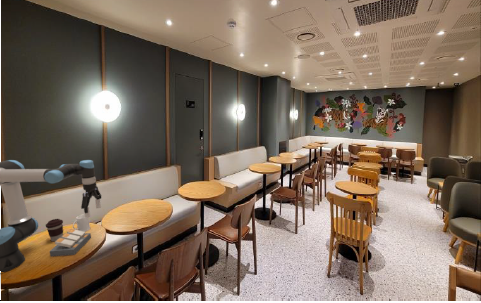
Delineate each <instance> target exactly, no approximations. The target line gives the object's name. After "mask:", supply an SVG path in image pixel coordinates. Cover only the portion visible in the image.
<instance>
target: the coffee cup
mask: <svg viewBox="0 0 481 303" xmlns="http://www.w3.org/2000/svg"><path fill="white" fill-rule="evenodd" d="M63 223H64V220H63V219H60V218H53V219H51V220H49V221H48V222H47V223H45V227H46V228H47V233H48V236H49V238H50V241H51V242H55V241H57V240H58V239H59V238H61V237H62V236H63V235H64V226H63Z"/></svg>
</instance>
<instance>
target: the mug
mask: <svg viewBox="0 0 481 303" xmlns="http://www.w3.org/2000/svg"><path fill="white" fill-rule="evenodd" d="M75 223H76V227H77V228H75V227H74V226H75ZM90 225H91V224H90V217H85V213H83V214H79V215H78V216H76V217H75V221H73V224H72V229H74V230H79V231H83V232H85V233H86V232H88V231H90V229H91V226H90Z"/></svg>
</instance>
